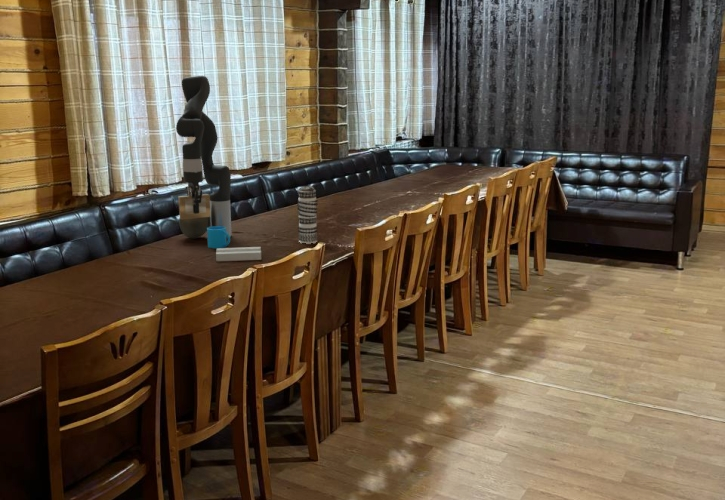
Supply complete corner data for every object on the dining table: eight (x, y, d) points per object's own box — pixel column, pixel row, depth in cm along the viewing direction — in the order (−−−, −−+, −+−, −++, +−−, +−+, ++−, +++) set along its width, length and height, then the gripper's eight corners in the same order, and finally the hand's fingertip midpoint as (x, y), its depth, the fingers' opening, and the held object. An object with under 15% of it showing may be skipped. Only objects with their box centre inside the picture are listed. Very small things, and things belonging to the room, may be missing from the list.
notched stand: (217, 255, 280) (216, 248, 279) (260, 253, 283) (260, 246, 283) (216, 261, 271) (215, 254, 270) (261, 259, 274) (261, 252, 273)
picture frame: (179, 218, 270) (178, 196, 268) (208, 215, 276) (207, 193, 274) (181, 219, 268) (180, 197, 266) (210, 216, 274) (209, 194, 272)
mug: (203, 246, 296) (202, 228, 294) (217, 243, 302) (216, 225, 300) (223, 250, 289) (222, 231, 287) (236, 246, 296) (236, 228, 294)
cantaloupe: (173, 239, 308) (171, 207, 304) (194, 234, 320) (192, 203, 317) (196, 243, 302) (195, 210, 298) (217, 237, 314) (215, 205, 310)
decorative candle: (315, 244, 300) (314, 189, 294) (295, 243, 302) (294, 188, 296) (320, 240, 309) (319, 186, 303) (301, 239, 310) (300, 185, 305)
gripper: (178, 168, 271) (180, 210, 275) (189, 172, 260) (191, 216, 264) (196, 167, 275) (198, 209, 279) (207, 171, 263) (210, 214, 268)
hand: (195, 212), depth 271 cm, fingers closed on picture frame, 2 cm apart
